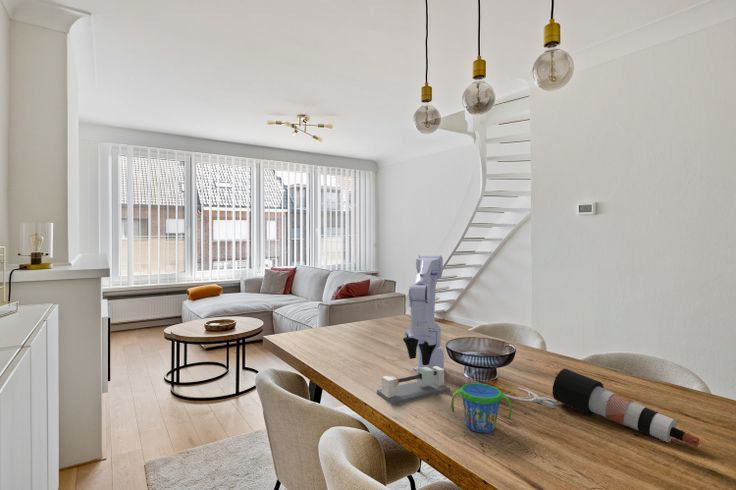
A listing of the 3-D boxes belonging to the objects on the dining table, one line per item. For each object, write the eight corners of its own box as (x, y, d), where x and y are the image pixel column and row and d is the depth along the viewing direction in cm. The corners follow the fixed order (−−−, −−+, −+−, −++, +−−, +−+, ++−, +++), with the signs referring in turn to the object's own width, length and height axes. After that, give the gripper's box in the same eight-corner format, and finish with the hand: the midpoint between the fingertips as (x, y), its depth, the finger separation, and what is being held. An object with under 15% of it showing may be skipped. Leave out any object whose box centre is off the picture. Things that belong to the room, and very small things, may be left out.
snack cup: (512, 423, 109) (512, 387, 109) (510, 442, 99) (511, 402, 99) (454, 414, 114) (454, 379, 114) (447, 431, 105) (448, 392, 104)
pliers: (518, 384, 134) (563, 398, 123) (518, 389, 134) (563, 403, 123) (502, 391, 128) (548, 407, 116) (502, 396, 128) (548, 412, 116)
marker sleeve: (426, 378, 135) (426, 366, 135) (433, 382, 132) (433, 370, 131) (416, 380, 133) (416, 368, 133) (423, 384, 130) (423, 372, 130)
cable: (690, 471, 94) (689, 442, 91) (555, 407, 122) (550, 382, 118) (705, 442, 99) (705, 413, 95) (572, 386, 126) (567, 362, 122)
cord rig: (431, 381, 140) (431, 363, 140) (449, 391, 131) (450, 372, 131) (377, 393, 129) (377, 373, 129) (393, 405, 121) (393, 384, 120)
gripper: (397, 318, 137) (397, 357, 137) (422, 326, 124) (422, 369, 124) (414, 316, 140) (414, 354, 141) (440, 324, 127) (440, 366, 128)
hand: (419, 361), depth 133 cm, fingers open, 7 cm apart
